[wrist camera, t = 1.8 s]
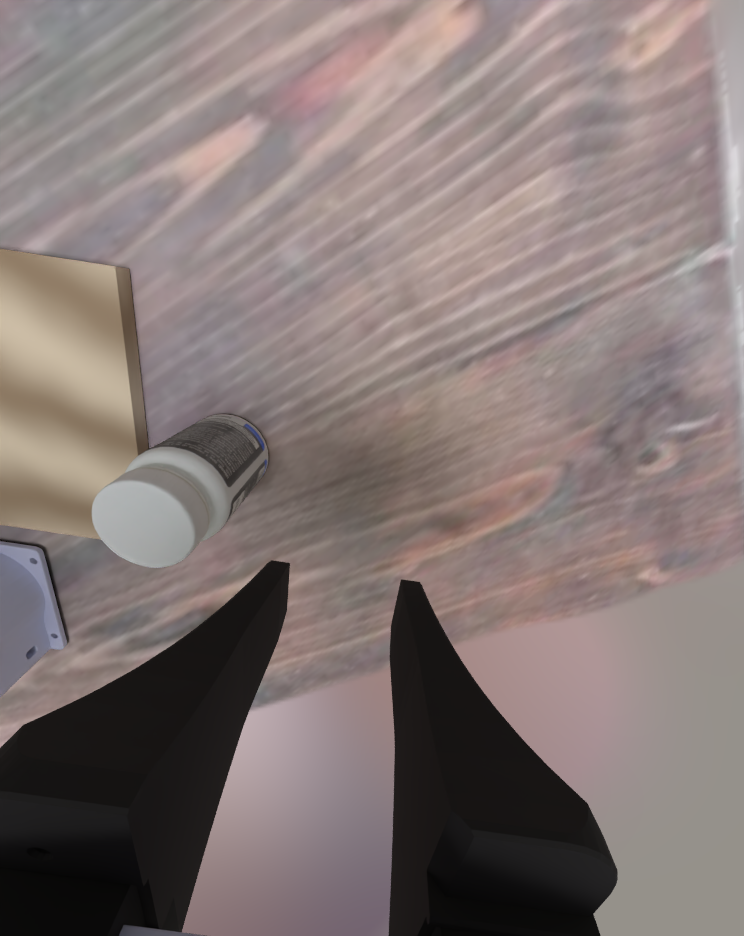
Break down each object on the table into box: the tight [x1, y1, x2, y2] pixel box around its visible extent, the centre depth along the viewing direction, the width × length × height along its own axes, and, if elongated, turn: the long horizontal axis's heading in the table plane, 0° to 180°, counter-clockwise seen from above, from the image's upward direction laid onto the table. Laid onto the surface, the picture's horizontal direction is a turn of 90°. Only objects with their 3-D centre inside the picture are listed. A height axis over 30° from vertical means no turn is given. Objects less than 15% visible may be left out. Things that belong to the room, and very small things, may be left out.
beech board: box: [0, 249, 149, 539], centre depth 20 cm, size 16×12×1 cm
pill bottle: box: [92, 414, 268, 568], centre depth 18 cm, size 5×5×8 cm
